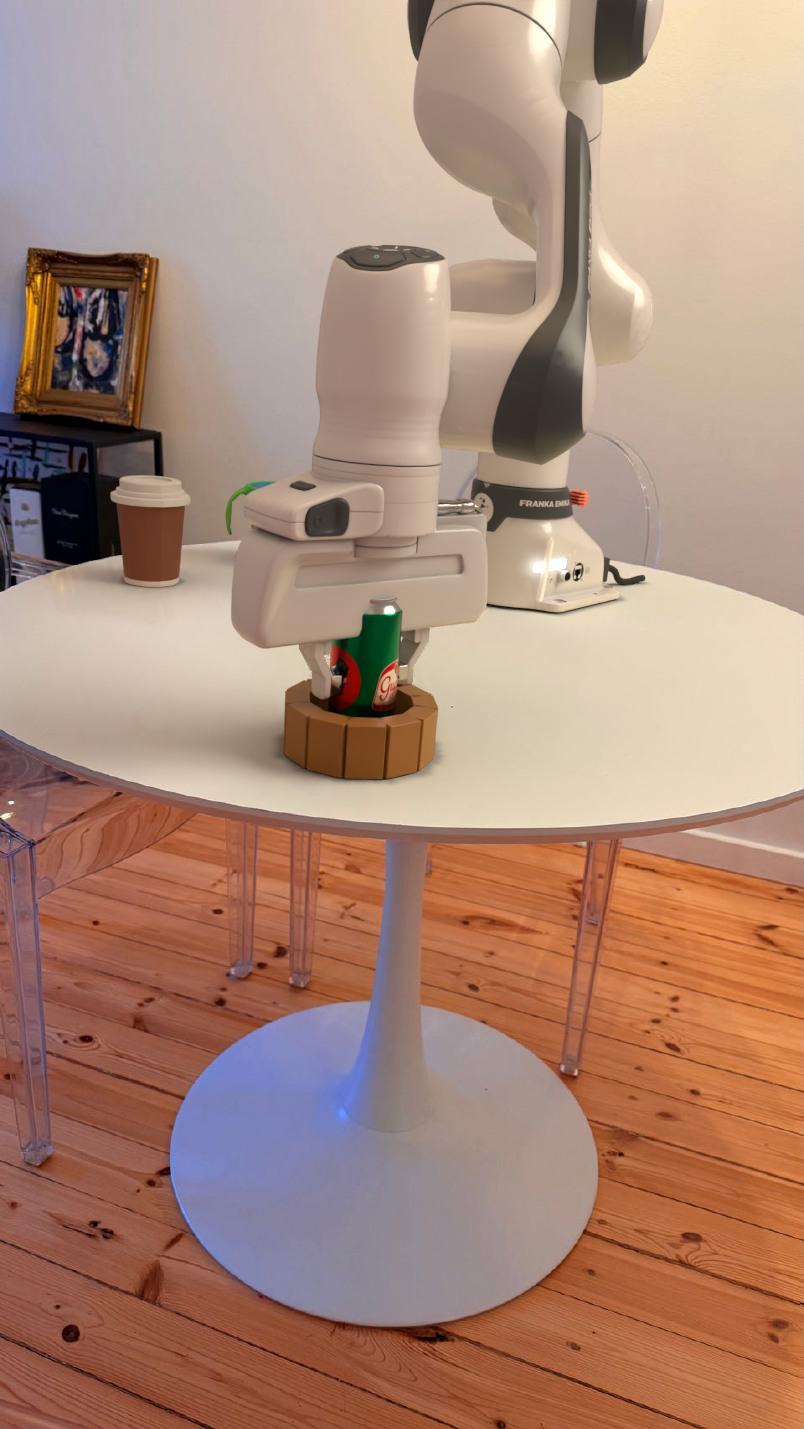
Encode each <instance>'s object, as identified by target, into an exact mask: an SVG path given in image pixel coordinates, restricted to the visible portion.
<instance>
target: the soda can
mask: <svg viewBox="0 0 804 1429" xmlns="http://www.w3.org/2000/svg"><path fill="white" fill-rule="evenodd" d="M396 600H397V597H393V598H389V599H371V600H370V603H371V605H370V607H369V608H368V609H367V610H366V611H365V613H364V614H363V615H362V629H361V632H360V634H359V636H358V637H355V638H347V639H339V640H332V646H331V653H330V654H329V668H330V669H332V670H333V671H334V672H337V673H339V674H341V675H342V684H341V686H340V688H341V695H340V696H339V697H333V698H328V707H327V712H331V713H335V714H340V715H344V716H348V717H362V718H383V717H388V716H394V715H395V708H396V696H397V683H398V670H399V657H400V645H401V641H402V637H401V632H402V631H401V627H402V613H403V611H402V610H401V608H400V607H399V606H398V605H397V603H396V602H395V601H396Z"/></svg>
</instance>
